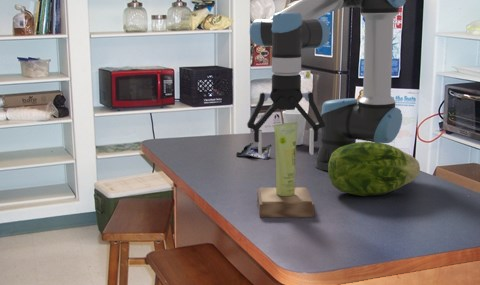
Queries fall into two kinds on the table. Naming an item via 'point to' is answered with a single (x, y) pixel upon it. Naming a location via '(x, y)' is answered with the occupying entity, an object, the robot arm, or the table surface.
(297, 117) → the cup
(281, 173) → the tube
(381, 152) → the lettuce
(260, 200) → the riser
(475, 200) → the table surface
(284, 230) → the table surface
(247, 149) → the snack package
